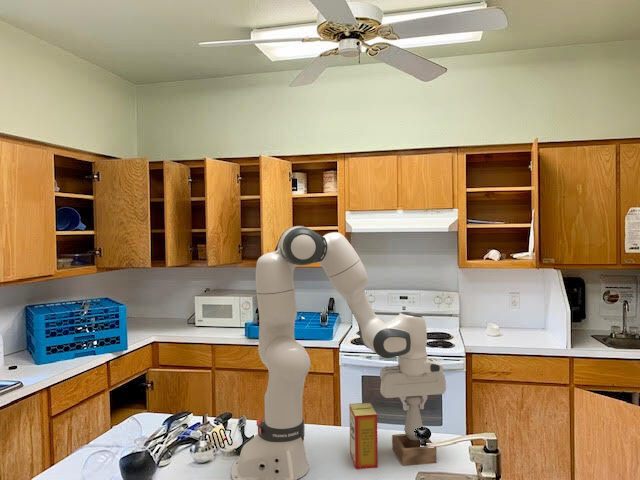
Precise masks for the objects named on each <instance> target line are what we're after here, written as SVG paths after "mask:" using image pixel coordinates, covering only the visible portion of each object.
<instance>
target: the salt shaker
mask: <svg viewBox="0 0 640 480" xmlns="http://www.w3.org/2000/svg"><path fill="white" fill-rule="evenodd" d="M420 401H421V396H408V397H406V400H405V403H408V404H409V410H407V411H406V416H405V423H404V434H406V436H407V437H408V438H409V439H410V440H419V439H418V438H417V437H416V436H415V432H414V431H416V430H417V428H421V427H423V428H424V426H423V421H422V416H421V412H420V410H421V409H420V410H419V404H420ZM415 429H416V430H415Z"/></svg>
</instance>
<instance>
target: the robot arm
mask: <svg viewBox="0 0 640 480" xmlns="http://www.w3.org/2000/svg"><path fill="white" fill-rule="evenodd" d="M315 263H316V264H319V265H320V266H321V268H322V269H323V271H324V272H325V274H326V276H327V278H328V280H329V281H330V283H331V284H332V286H333V287H334V289H335V290H336V291H337V292H338V293H339V295H340V296H341V297H342V298H343V300H345V302H346V303H347V305H348V307H349V309H350V311H351V313H352V315H353V316H354V318H355V321H356V322H357V325H358V332H359V333H358V335H359V339H360V342H361V343H362V344H363V346H365V347H366V348H367V349H369V350H370V351H372V352H373V353H375V354H376V355H377V356H378V357H381V358H383V359H392V358H396V357H397V363H398V364H397V365H391V366H389V365H386V366H384V368H382V369H381V370H380V372H379V378H380V394H381V396H383V398H384V399H393V398H399V400H400V402H401V403H402V409H403V411H404V412H405V411H406V412H407V410H409V404H408V403H407V402H406V398H407V397H408V396H419V397H420V399H421V401H420V404H419V410H424V409H425V404H426V402H427V400H428V396H432V395H433V396H434V395H443V394H445V393H446V391H447V383H446V376H445V373H444V372H443V371H444V367H443V364H441V362H439V361H438V360H435V359H434V358H430V357H428V354H427V353H428V352H427V348H426V347H427V343H428V335H427V334H428V333H427V325H426V319H425V317H423V316H422V315H420V314H418V313H415V312H411V311H410V312H409V311H402V312H400V313H398V315H397V316H395V317H394V318H393V319H391V320H390V321H388V322H385V320H383V319H381V317H378V316H377V314H376V313H375V311H374V309H373V307H372V305H371V303H370V302H369V299H368V297H367V296H366V292H365V288H366V287H367V284H368V283H369V282H368V280H369V276H368V273H367V270H366V267H365V265H364V264H363V262H362V260H361V258H360V256H359V255H358V253H357V252H356V250H355V249H354V247H353V246H352V244H351V243H350V242H349V240H348V239H347V238H346V237H345V236H344V235H343V234H342V233H340V232H337V231H334V232H333V231H332V232H328V233H326V234H324V235H321V234H319V233H318V232H316V231H315V230H313V229H310V228H308V227H306V226H303V225H296V226H295V225H294V226H291V227H289V228H287V229H286V230H284V231H283V233H282V234H281V235H280V237H279V239H278V242H277V244H276V247H275V249H274V251H272V252H271V251H270V252H266V253H264V254H262V255H261V256H260V257H258V259H257V261H256V266H255V267H256V268H255V291H256V298H257V300H256V301H257V309H258V318H259V319H258V321H259V322H258V323H259V328H258V348H257V350H258V351H257V352H258V355H259V359H260V361H261V363H263V365H264V366H265V367H266V368H267V370H268V381H267V388H266V392H265V393H264V419H262V418H260V417H259V418H258V419H257V420H256V427H257V434H256V435H255V436H254V437H252V438H251V439H250V440H249V441H248V442H246V443H245V444H244V445H243V446H242V448H241V450H240V454H239V457H238V459H236V460H235V461H234V462H233V464H232V466H231V473H230V478H231V480H298V479H301V478H303V477H304V476H305V475H306V474H307V473H308V471H309V469H310V468H309V467H310V466H309V463H308V460H307V455H306V450H305V449H306V448H305V437H306V435H305V433H306V432H305V421H304V420H305V419H304V418H303V392H304V386H305V382H306V378H307V376H308V374H309V373H310V370H311V358H310V355H309V354H308V352H307V350H306V348H305V347H304V345H302V344H301V343H299V342H297V341H296V338H295V325H296V319H297V317H298V316H297V315H298V310H297V301H296V299H297V298H296V291H295V283H294V270H295V268H296V267H297V266H308V265H311V264H315Z"/></svg>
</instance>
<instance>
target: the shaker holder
mask: <svg viewBox="0 0 640 480" xmlns="http://www.w3.org/2000/svg"><path fill="white" fill-rule="evenodd" d="M391 441H392V442H391V443H392V444H391V447H392V450H393V451H392V452H393V453H394V454H395V455H396V458H398V460H399V462H400V463H401V465H402V466H403V467H404V466H405V467H406V466H414V465H415V466H417V465H425V464H426V465H428V464H437V447H436V446H435V447H434V448H428V447H420V440H410V439H409V438H408V437H407V436H406V433H399V434H398V433H397V434H392V435H391ZM426 443H433V442H432V441H431V439H427V440H426Z"/></svg>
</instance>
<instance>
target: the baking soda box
mask: <svg viewBox="0 0 640 480" xmlns="http://www.w3.org/2000/svg"><path fill="white" fill-rule="evenodd" d="M378 451H379V450H378V414H377V412H376V410H375V408H374V407H373V405H372V404H371V402H361V403H360V402H358V403H349V453H350V454H349V455H350V457H351V459H352V462H353V465H354V467H355V469H356V470H361V469H362V470H363V469H364V470H365V469H377V468H378V467H379V465H378V464H379V463H378V462H379V458H378V457H379V456H378V455H379V453H378Z"/></svg>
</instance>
